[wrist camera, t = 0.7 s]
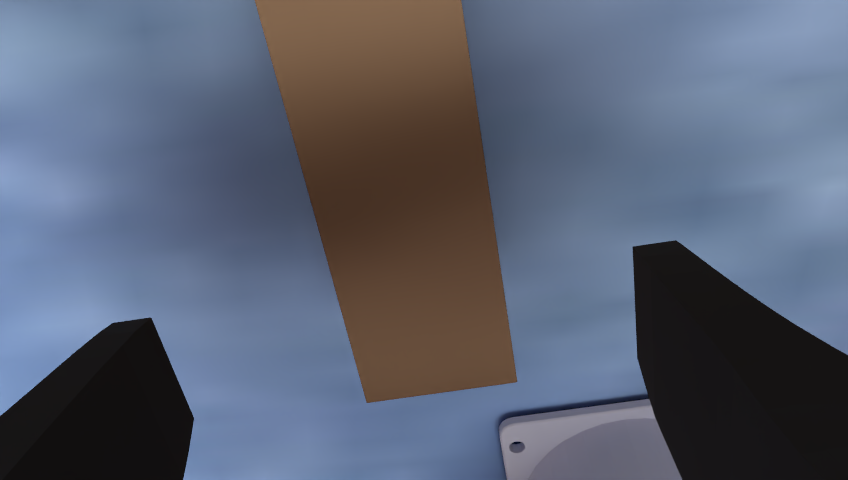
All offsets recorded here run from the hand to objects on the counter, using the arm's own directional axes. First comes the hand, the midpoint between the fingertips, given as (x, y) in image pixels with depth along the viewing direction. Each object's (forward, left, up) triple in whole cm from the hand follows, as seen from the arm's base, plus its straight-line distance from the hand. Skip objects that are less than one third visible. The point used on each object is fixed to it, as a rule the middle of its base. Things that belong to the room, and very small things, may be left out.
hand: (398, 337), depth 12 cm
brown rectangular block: (+2, 0, -10) cm, 10 cm away
